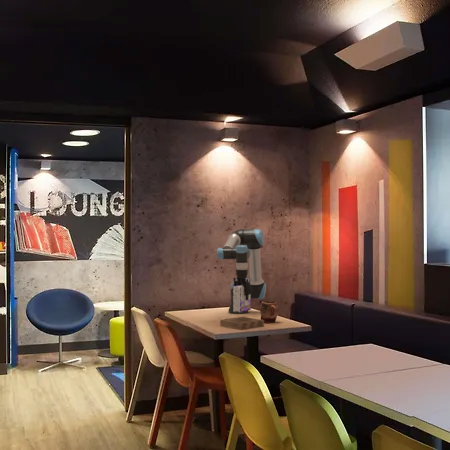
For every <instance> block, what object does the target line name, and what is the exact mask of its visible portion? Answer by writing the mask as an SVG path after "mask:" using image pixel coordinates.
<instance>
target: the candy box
mask: <svg viewBox="0 0 450 450" xmlns="http://www.w3.org/2000/svg"><path fill="white" fill-rule="evenodd" d="M244 295H245V292H244V286H243V285H239V286H234V287H233V312H244V311H248V310H249V311H250V310H252V308H251V307H252V303H251V300H252V299H251V294H249V296H248V297H249V298H248V305H244Z"/></svg>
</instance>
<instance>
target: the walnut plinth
mask: <svg viewBox="0 0 450 450" xmlns="http://www.w3.org/2000/svg"><path fill="white" fill-rule="evenodd" d="M219 321H220V322H219V323H220V325H219V326H220V327H222V328H224V327H225V328H230V329H234V330H240V331H242V330H243V331H244V330H248V329H256V328H262V327H265V323H264V320H261V318H260V319H259V318H254V317H253V318H252V317H248V316H247V317H246V316H240V317H232V318H225V319H220V320H219Z"/></svg>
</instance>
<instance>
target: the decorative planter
mask: <svg viewBox="0 0 450 450" xmlns="http://www.w3.org/2000/svg"><path fill="white" fill-rule="evenodd" d="M258 310H259V312H260V320H264V324H272V323H275V322H276V320H277V318H278V314H279V311H280V309H279V306H278V303H277V301H275V300H272V301H271V300H270V301H269V300H264V301H261V304H260V306H259V309H258Z"/></svg>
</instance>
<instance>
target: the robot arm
mask: <svg viewBox="0 0 450 450" xmlns="http://www.w3.org/2000/svg"><path fill="white" fill-rule="evenodd" d="M264 237H265V236H264V232H263V230H262V229H259V228H258V229H257V228H243V229H242V228H240V229H236V230H234V231H232V232H231V233H230V234H229V235H228V236H227V240H226V242H225V244H224V245H223V246H222V247H217V249H216V258H217V259H218V260H235V269H236V270H235V275H236V277H233V282H231V284H230V302H229V303H230V304H229V307H228V312H227V313H229V314H234V315H236V314H239V315H242V314H243V315H244V314H248V313H249V311H250V310H248V311H244V312H233V287H234V286H239V285H243V286H244V292H245V295H244V305H248V298H249V297H248V296H249V294H251V300H253V299H254V300H261V299H265V297H266V292H267V283H266V282H265V280H264V279H263V278H262V275H263V274H262V262H261V261H262V260H261V259H262V258H261V249H262V248H263V246H264V245H265V238H264ZM248 263H249V264H248ZM248 271H249V272H248ZM248 273H249V274H248ZM248 275H249V278H248Z"/></svg>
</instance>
